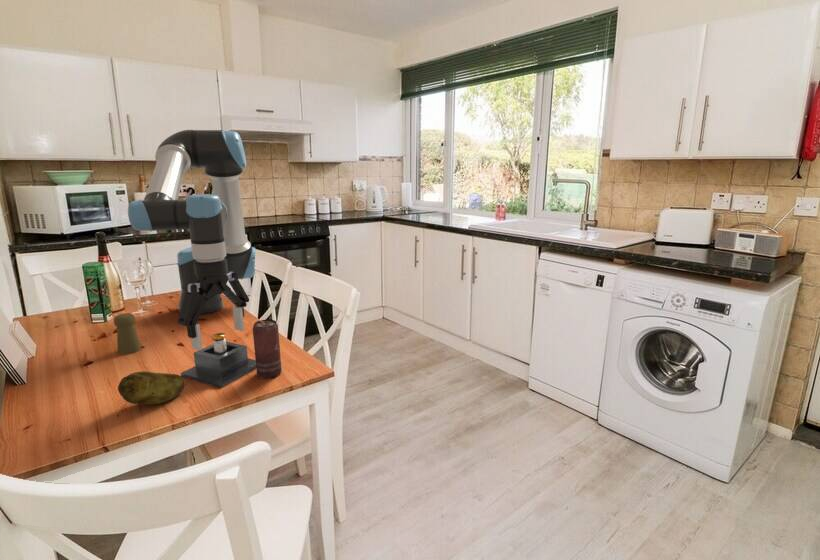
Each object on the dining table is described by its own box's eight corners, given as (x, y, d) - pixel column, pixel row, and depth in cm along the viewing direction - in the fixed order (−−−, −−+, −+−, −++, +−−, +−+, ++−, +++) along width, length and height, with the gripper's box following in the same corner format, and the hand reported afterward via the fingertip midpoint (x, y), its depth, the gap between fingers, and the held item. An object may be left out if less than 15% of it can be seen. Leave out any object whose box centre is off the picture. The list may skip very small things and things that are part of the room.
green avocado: (188, 402, 101) (184, 370, 99) (122, 418, 94) (115, 384, 92) (184, 387, 107) (180, 356, 105) (122, 401, 101) (116, 369, 99)
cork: (130, 355, 125) (124, 318, 122) (112, 353, 126) (105, 317, 124) (146, 346, 131) (140, 311, 128) (129, 345, 132) (123, 310, 129)
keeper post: (224, 355, 125) (220, 322, 122) (262, 365, 119) (259, 330, 117) (181, 376, 113) (175, 340, 110) (221, 388, 107) (216, 349, 104)
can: (268, 366, 119) (264, 317, 115) (286, 371, 116) (282, 321, 112) (251, 375, 113) (246, 324, 110) (269, 381, 111) (265, 328, 107)
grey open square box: (223, 357, 122) (221, 340, 120) (248, 363, 118) (246, 346, 117) (195, 370, 114) (193, 352, 112) (221, 377, 110) (219, 359, 109)
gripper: (237, 248, 121) (244, 320, 127) (152, 268, 99) (165, 354, 105) (258, 250, 118) (265, 325, 124) (175, 272, 96) (188, 361, 102)
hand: (219, 338), depth 114 cm, fingers open, 13 cm apart
